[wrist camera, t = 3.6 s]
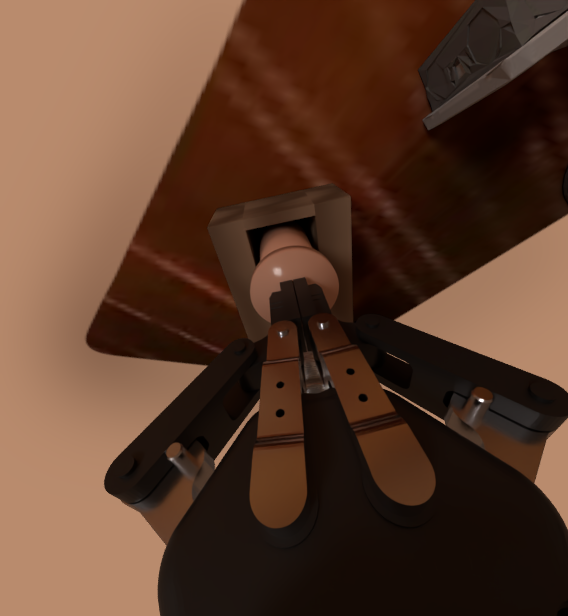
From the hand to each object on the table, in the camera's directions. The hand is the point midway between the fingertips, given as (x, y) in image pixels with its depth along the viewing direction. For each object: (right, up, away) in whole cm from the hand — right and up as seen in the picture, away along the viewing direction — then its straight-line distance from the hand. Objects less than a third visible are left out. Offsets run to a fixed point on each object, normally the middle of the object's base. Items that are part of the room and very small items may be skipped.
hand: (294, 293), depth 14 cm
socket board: (0, +3, +11) cm, 11 cm away
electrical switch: (+12, +17, +2) cm, 21 cm away
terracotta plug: (-1, +4, +6) cm, 8 cm away
